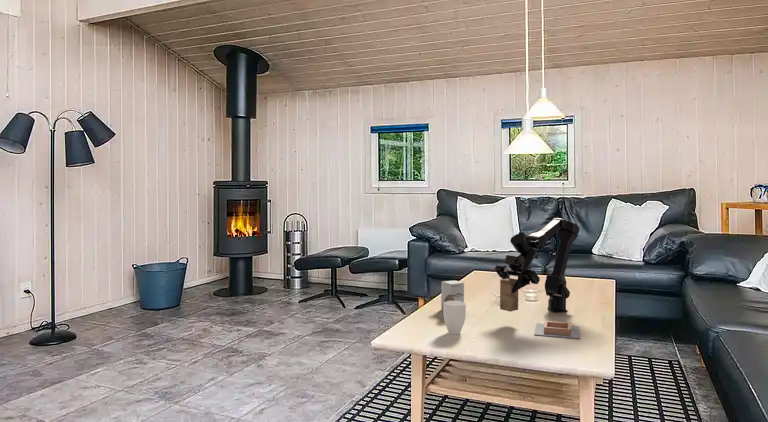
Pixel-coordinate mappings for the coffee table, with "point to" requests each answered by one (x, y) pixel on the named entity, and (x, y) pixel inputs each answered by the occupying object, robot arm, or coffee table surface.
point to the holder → (557, 330)
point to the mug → (454, 316)
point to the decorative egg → (448, 299)
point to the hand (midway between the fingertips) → (507, 290)
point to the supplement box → (452, 290)
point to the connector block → (508, 295)
